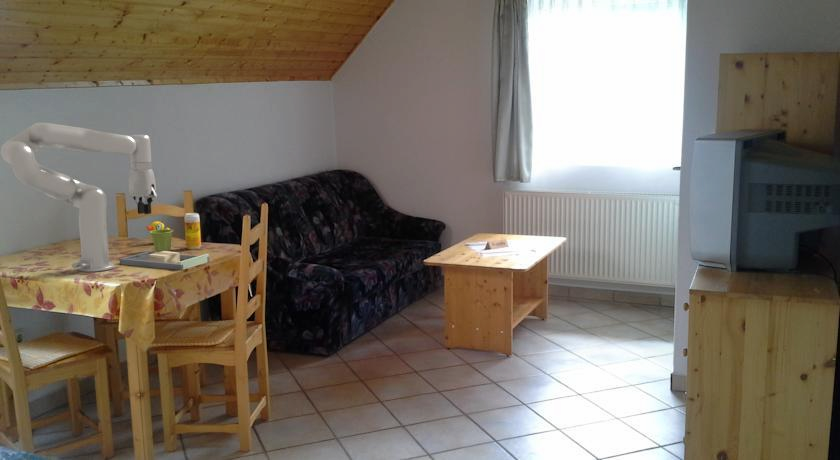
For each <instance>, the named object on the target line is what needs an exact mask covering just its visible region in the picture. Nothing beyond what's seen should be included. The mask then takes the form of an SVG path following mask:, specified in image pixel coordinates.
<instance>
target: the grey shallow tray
mask: <svg viewBox="0 0 840 460" xmlns="http://www.w3.org/2000/svg"><path fill="white" fill-rule="evenodd" d="M154 253H158V252H155V251H153V250H152V251H151V250H149V251H144V252H142V253H138V254H133V255H129V256H126V257H123V258H119V265H127V266H135V267H137V266H138V267H147V268H157V269H158V268H159V269H165V270H166V269H168V270H176V271H184V270H186V269H189V268H193V267H196V266H200V265H203V264H206V263H209V262H210V253H205V254H202V255H197V254H195V255H194V254H185V253H179V254H180V262H177V263H165V262H155V261H149V255H150V254H154Z"/></svg>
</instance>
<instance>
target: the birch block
mask: <svg viewBox="0 0 840 460" xmlns="http://www.w3.org/2000/svg"><path fill="white" fill-rule="evenodd" d="M180 254H181V253H180V252H179V251H171V250H170V251H162V252H158V253H154V254H150V255H149V260H148V261H155V262H165V263H175V264H178V262H180V261H181V260H180Z"/></svg>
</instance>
